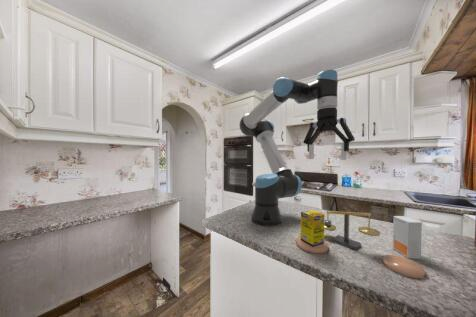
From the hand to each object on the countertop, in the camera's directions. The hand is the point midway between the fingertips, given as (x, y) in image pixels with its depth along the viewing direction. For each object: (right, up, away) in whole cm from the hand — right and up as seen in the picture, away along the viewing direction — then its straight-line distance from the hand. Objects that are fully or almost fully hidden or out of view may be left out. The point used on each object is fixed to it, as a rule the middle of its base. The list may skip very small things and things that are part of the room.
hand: (326, 159), depth 73 cm
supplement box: (-10, -31, -9) cm, 34 cm away
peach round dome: (-10, -32, -9) cm, 35 cm away
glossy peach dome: (+12, -32, -22) cm, 41 cm away
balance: (+4, -32, -8) cm, 33 cm away
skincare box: (+20, -32, -14) cm, 41 cm away
